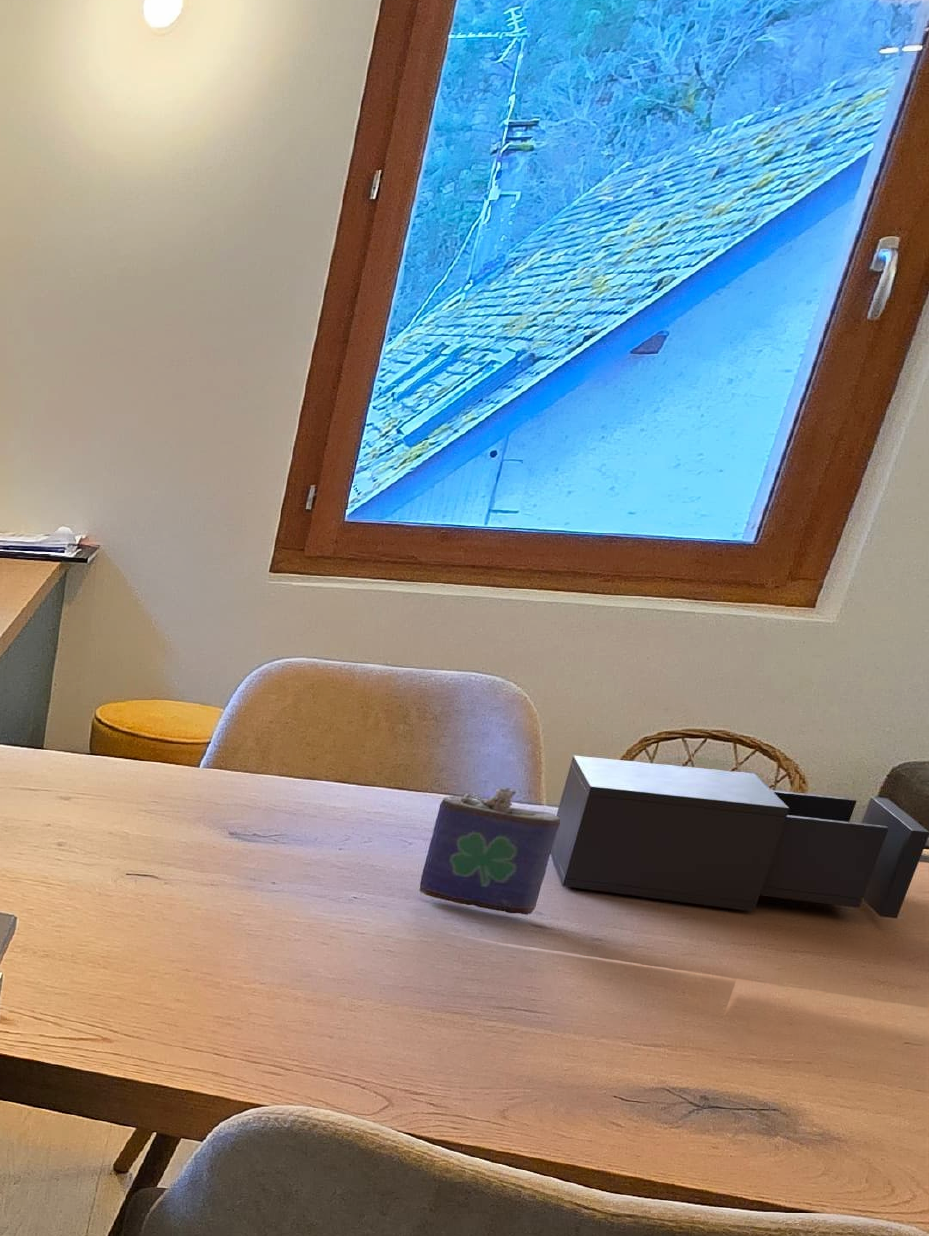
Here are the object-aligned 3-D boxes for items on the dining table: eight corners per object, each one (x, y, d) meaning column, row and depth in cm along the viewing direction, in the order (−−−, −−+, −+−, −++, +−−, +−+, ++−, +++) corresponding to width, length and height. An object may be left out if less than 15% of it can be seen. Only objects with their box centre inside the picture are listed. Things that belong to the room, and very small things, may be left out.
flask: (535, 908, 122) (569, 794, 117) (530, 919, 120) (564, 803, 115) (421, 884, 127) (448, 774, 122) (414, 894, 125) (441, 783, 120)
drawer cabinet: (723, 870, 132) (755, 773, 128) (754, 911, 122) (790, 808, 118) (547, 848, 138) (573, 755, 134) (562, 886, 128) (590, 786, 124)
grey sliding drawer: (937, 888, 125) (970, 806, 122) (984, 930, 115) (1020, 842, 112) (682, 857, 133) (707, 779, 130) (706, 893, 123) (734, 810, 120)
